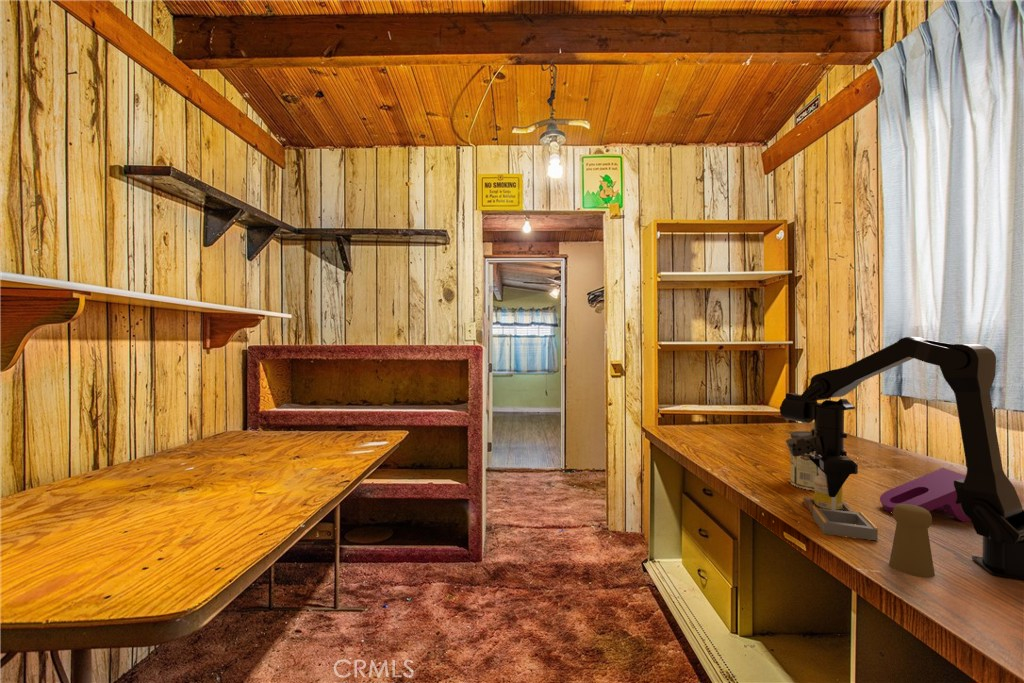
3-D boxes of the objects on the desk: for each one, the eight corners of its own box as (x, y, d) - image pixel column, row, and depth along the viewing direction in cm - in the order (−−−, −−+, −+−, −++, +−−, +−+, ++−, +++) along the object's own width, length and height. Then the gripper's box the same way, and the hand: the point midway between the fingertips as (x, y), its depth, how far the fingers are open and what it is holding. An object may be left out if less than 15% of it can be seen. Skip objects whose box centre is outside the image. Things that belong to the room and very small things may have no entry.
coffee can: (830, 483, 125) (831, 432, 125) (839, 494, 116) (839, 440, 116) (787, 478, 130) (788, 429, 130) (792, 489, 121) (792, 436, 120)
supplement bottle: (836, 507, 107) (836, 466, 107) (846, 515, 102) (847, 472, 102) (810, 504, 109) (811, 464, 109) (819, 513, 104) (819, 471, 104)
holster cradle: (854, 518, 101) (854, 511, 101) (811, 513, 104) (811, 506, 104) (843, 506, 108) (843, 500, 108) (803, 501, 111) (803, 495, 111)
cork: (912, 559, 82) (912, 499, 82) (945, 577, 76) (945, 512, 76) (880, 560, 82) (880, 500, 82) (910, 577, 76) (911, 513, 76)
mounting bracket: (917, 547, 100) (997, 515, 98) (900, 513, 100) (980, 480, 99) (886, 529, 109) (959, 499, 108) (870, 497, 110) (943, 467, 108)
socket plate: (877, 541, 90) (877, 527, 90) (824, 534, 93) (824, 521, 93) (861, 523, 98) (861, 511, 98) (812, 517, 101) (812, 505, 101)
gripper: (781, 417, 117) (781, 477, 117) (798, 431, 100) (797, 501, 100) (832, 420, 113) (832, 482, 113) (858, 435, 96) (858, 508, 96)
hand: (828, 492), depth 106 cm, fingers closed on supplement bottle, 5 cm apart
